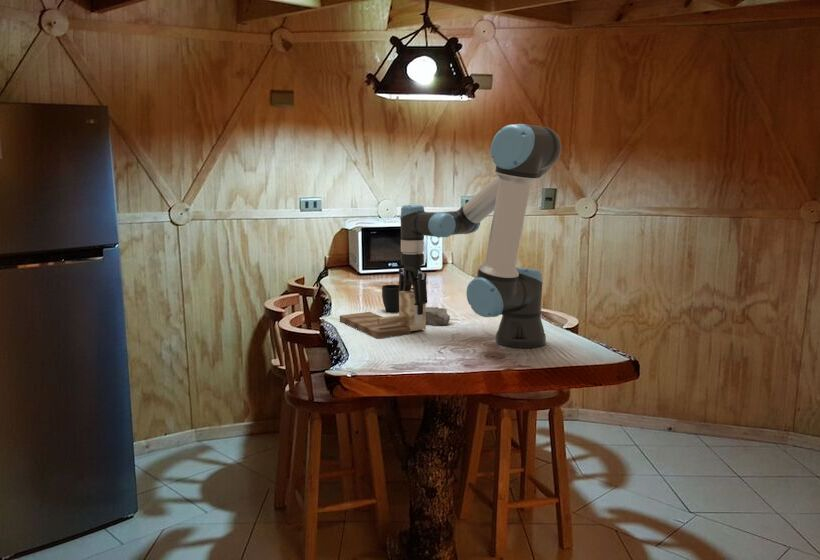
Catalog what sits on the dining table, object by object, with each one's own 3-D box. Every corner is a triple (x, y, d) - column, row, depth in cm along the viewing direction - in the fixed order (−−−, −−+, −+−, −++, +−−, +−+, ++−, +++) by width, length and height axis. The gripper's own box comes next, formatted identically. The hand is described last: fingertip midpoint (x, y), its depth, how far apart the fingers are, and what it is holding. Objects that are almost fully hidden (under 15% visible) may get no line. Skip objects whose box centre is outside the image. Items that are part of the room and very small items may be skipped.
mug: (414, 313, 232) (414, 288, 231) (382, 313, 231) (382, 288, 230) (413, 308, 240) (413, 284, 239) (381, 308, 239) (381, 284, 238)
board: (410, 333, 202) (410, 327, 201) (377, 338, 195) (377, 332, 195) (370, 317, 225) (370, 311, 225) (339, 321, 219) (339, 315, 219)
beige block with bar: (425, 328, 205) (425, 293, 203) (384, 334, 197) (384, 297, 195) (414, 324, 211) (414, 289, 209) (374, 330, 203) (373, 294, 201)
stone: (423, 327, 211) (423, 310, 210) (418, 322, 219) (418, 305, 218) (451, 326, 213) (451, 309, 212) (445, 320, 221) (445, 304, 220)
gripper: (439, 255, 196) (438, 326, 200) (406, 249, 213) (406, 314, 216) (418, 256, 192) (418, 329, 196) (387, 250, 209) (387, 317, 213)
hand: (412, 321), depth 206 cm, fingers closed on beige block with bar, 7 cm apart
